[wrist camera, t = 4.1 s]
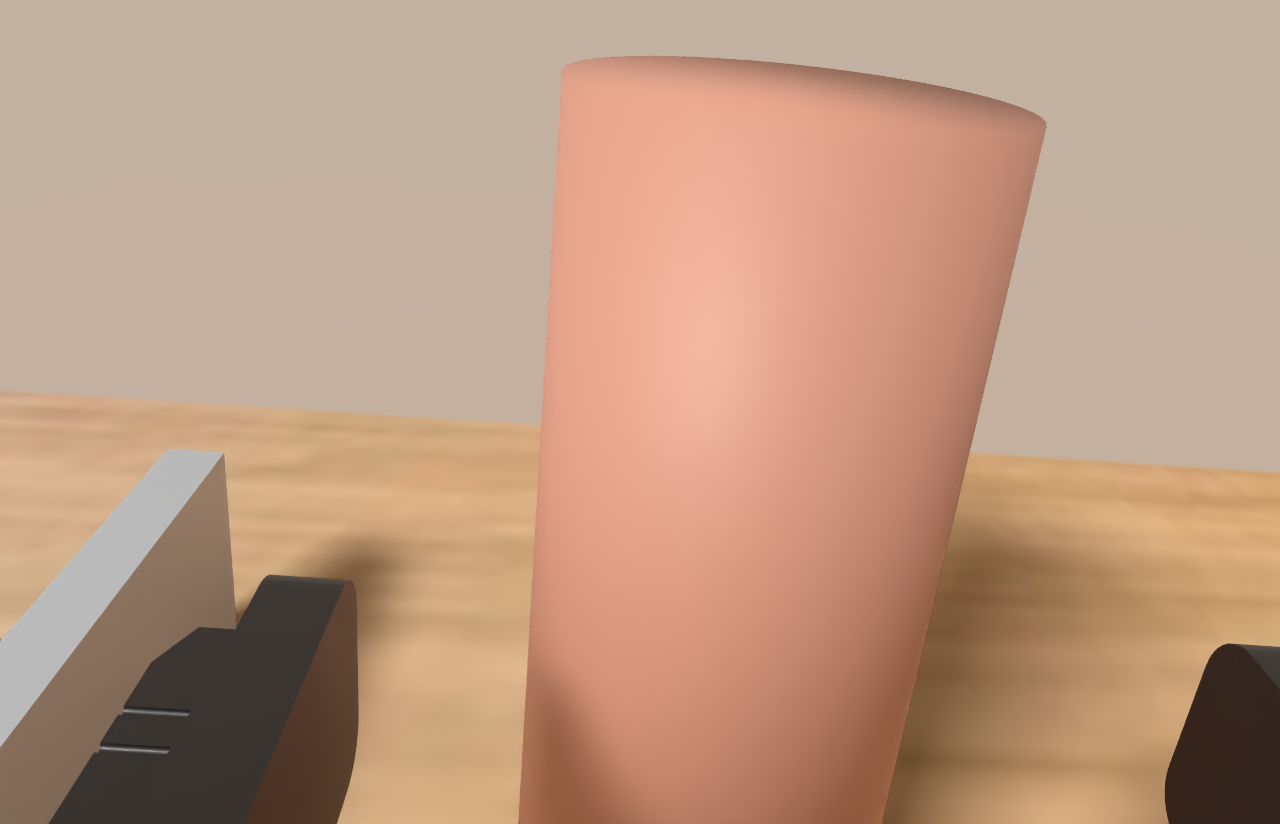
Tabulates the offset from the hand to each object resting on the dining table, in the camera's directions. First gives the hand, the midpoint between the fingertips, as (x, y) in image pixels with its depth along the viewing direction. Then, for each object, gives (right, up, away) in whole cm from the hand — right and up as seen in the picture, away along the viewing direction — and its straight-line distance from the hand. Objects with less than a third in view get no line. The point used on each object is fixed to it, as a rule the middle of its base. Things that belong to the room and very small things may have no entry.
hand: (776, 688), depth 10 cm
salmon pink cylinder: (-1, -5, +6) cm, 8 cm away
